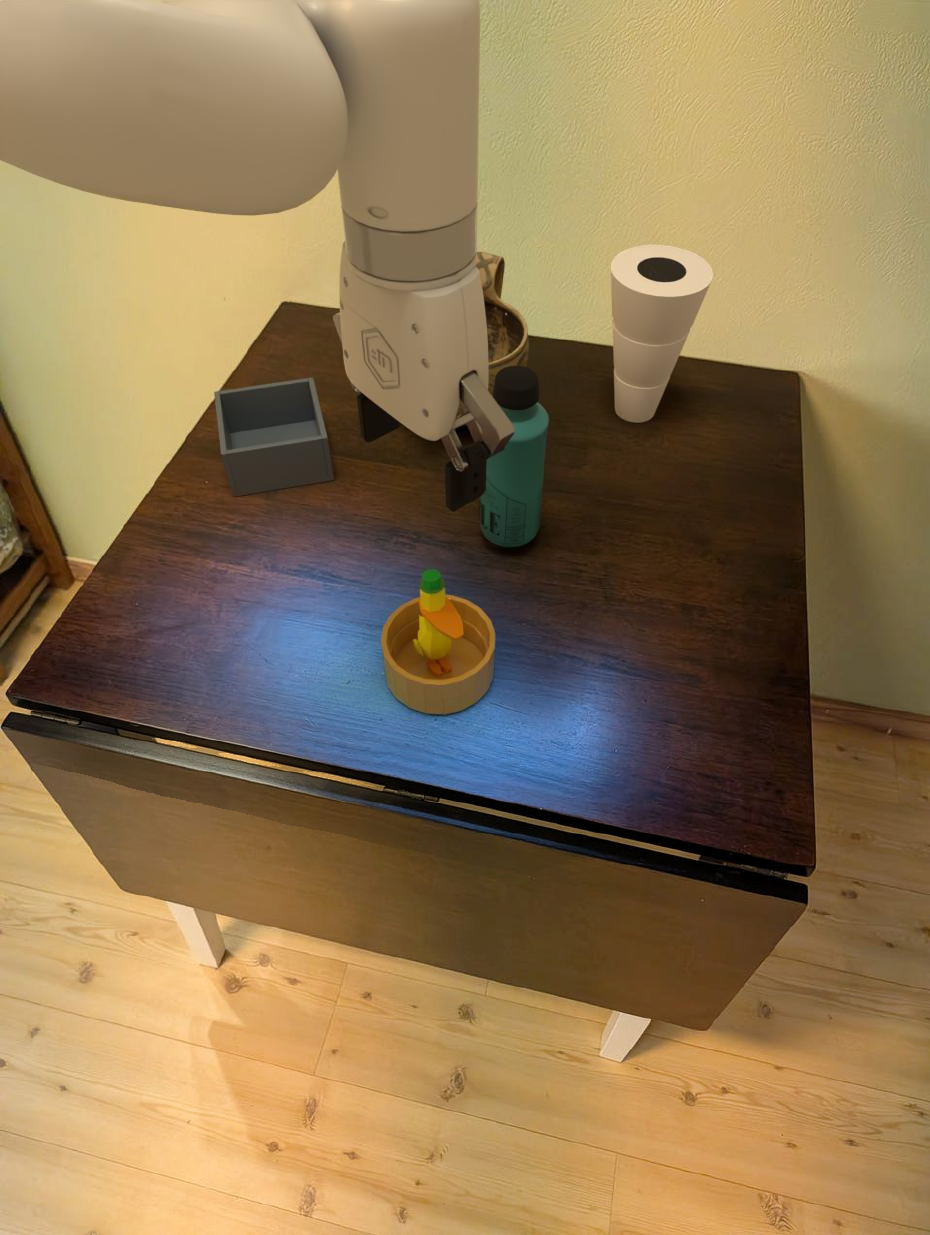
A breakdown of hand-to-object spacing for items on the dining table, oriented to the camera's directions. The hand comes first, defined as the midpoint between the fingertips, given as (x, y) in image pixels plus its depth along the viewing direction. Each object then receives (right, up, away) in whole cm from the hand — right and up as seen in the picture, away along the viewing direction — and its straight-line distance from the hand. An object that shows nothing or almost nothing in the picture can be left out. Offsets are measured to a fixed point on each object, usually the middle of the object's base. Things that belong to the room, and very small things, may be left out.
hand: (421, 465), depth 61 cm
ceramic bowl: (+2, +15, +42) cm, 44 cm away
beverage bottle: (+8, -3, +28) cm, 29 cm away
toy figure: (+1, -16, +17) cm, 23 cm away
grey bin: (-18, +7, +36) cm, 41 cm away
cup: (+24, +14, +42) cm, 50 cm away
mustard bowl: (+1, -16, +17) cm, 23 cm away
